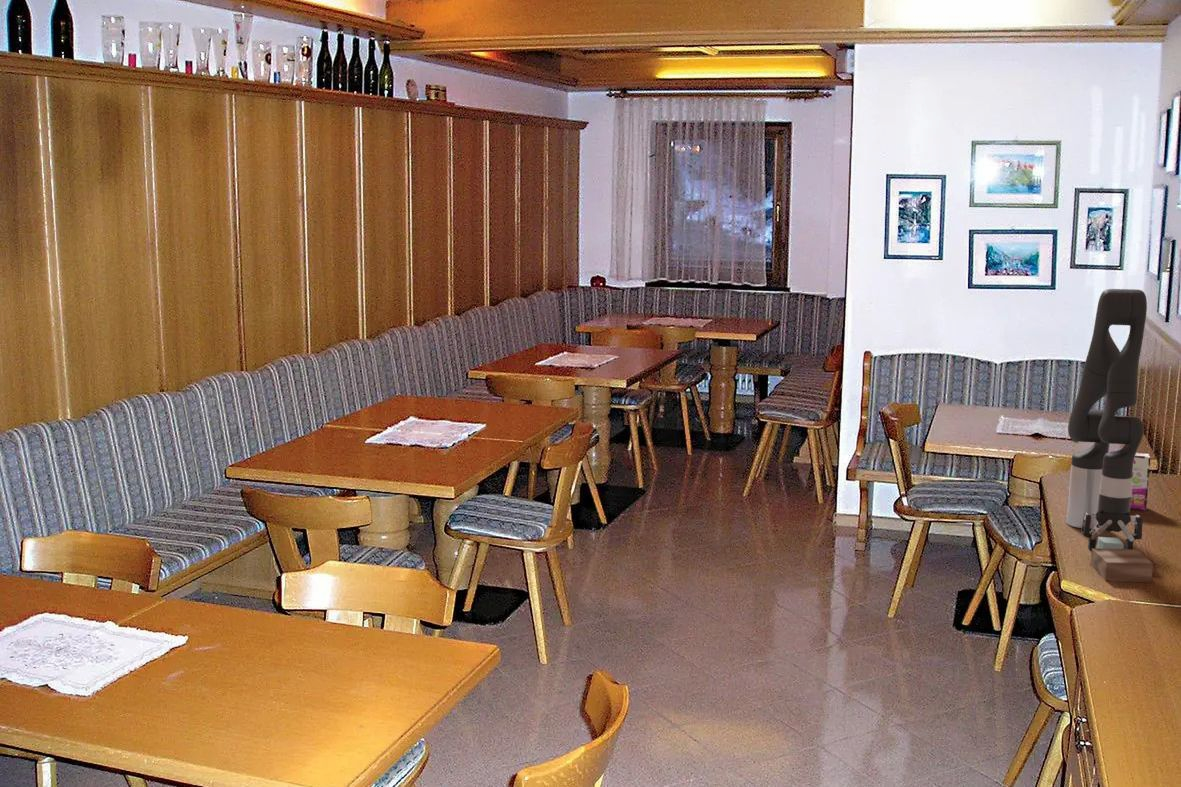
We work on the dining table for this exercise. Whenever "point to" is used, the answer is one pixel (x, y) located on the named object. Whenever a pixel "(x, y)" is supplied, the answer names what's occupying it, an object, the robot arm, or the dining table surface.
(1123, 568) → the walnut block
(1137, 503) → the candy bar box
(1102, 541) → the teal cube
